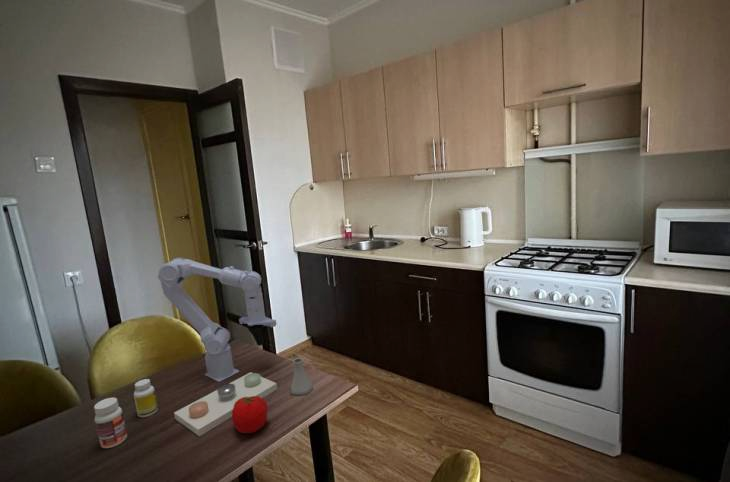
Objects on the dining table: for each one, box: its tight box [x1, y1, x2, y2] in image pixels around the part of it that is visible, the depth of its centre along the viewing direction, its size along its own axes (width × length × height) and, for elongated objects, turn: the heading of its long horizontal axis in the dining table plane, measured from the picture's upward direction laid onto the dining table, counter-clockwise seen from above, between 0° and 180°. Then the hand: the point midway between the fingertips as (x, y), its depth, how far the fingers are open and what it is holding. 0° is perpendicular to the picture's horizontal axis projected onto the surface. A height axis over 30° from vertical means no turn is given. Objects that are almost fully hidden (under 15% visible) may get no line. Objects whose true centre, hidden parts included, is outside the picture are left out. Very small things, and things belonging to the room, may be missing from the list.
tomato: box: [231, 396, 269, 434], centre depth 102 cm, size 9×10×8 cm
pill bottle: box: [93, 397, 128, 449], centre depth 101 cm, size 6×6×11 cm
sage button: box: [244, 372, 261, 387], centre depth 121 cm, size 5×5×2 cm
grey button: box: [216, 383, 236, 398], centre depth 114 cm, size 5×5×2 cm
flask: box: [290, 357, 313, 396], centre depth 118 cm, size 7×7×10 cm
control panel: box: [173, 371, 278, 437], centre depth 115 cm, size 14×26×2 cm, turn 141°
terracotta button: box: [189, 401, 208, 418], centre depth 108 cm, size 5×5×2 cm
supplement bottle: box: [133, 378, 159, 418], centre depth 114 cm, size 5×5×10 cm
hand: (260, 344), depth 133 cm, fingers closed
